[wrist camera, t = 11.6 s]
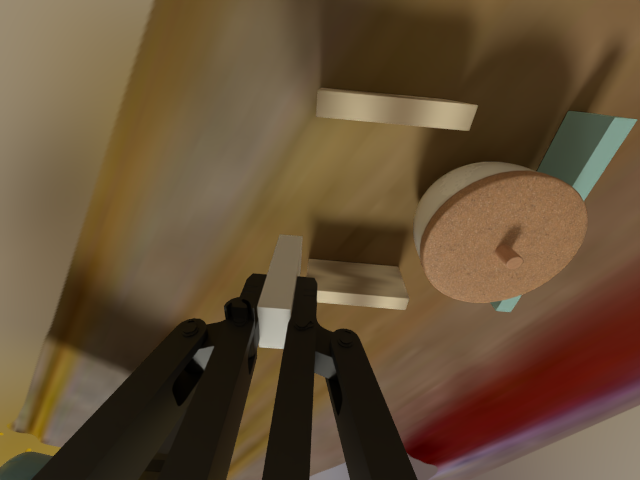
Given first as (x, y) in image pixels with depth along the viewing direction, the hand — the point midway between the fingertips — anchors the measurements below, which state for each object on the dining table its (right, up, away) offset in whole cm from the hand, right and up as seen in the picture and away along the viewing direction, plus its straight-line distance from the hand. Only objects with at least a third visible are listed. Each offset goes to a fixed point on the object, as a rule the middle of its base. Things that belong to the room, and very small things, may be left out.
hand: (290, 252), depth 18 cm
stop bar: (+21, +3, +8) cm, 23 cm away
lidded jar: (+15, +4, +7) cm, 17 cm away
